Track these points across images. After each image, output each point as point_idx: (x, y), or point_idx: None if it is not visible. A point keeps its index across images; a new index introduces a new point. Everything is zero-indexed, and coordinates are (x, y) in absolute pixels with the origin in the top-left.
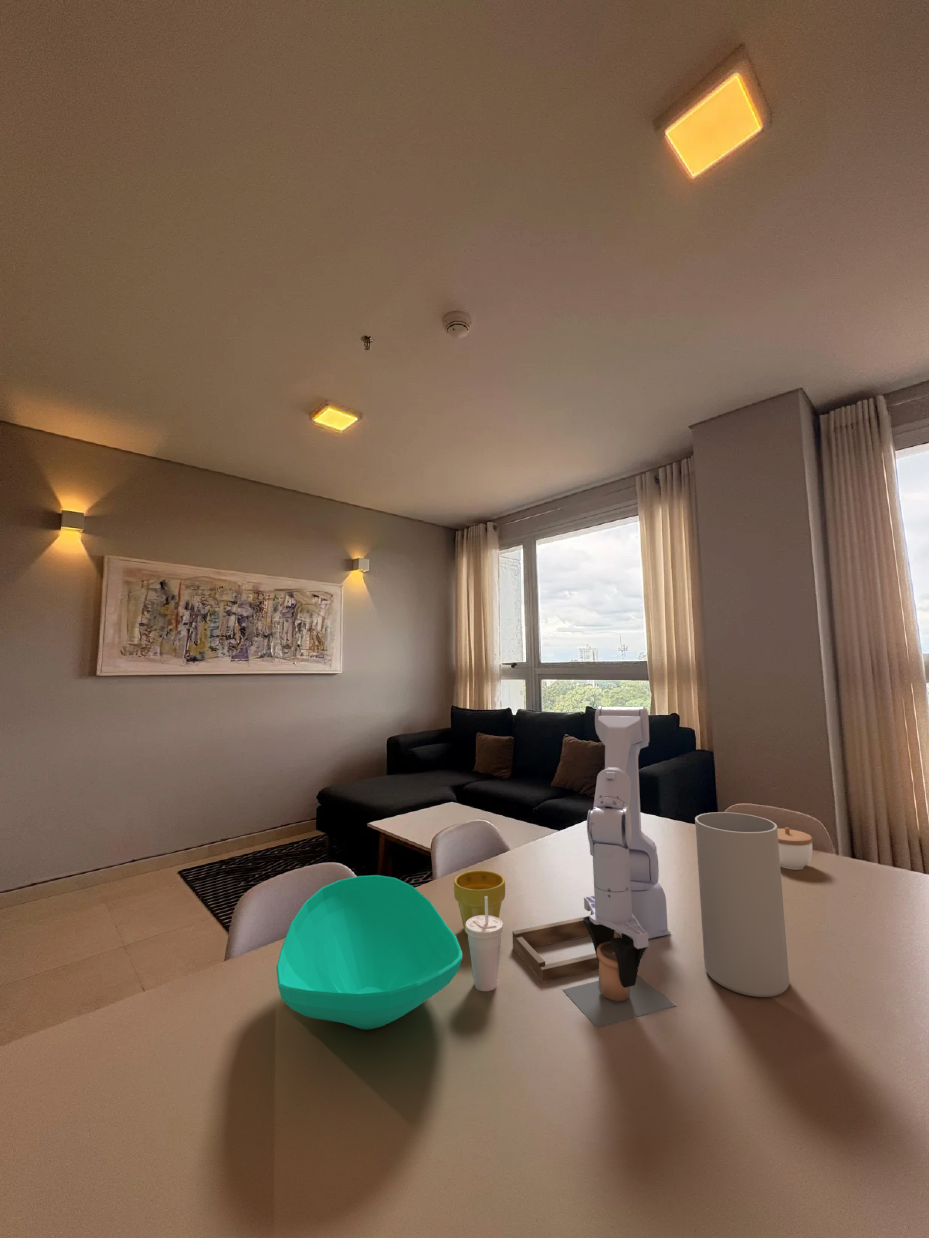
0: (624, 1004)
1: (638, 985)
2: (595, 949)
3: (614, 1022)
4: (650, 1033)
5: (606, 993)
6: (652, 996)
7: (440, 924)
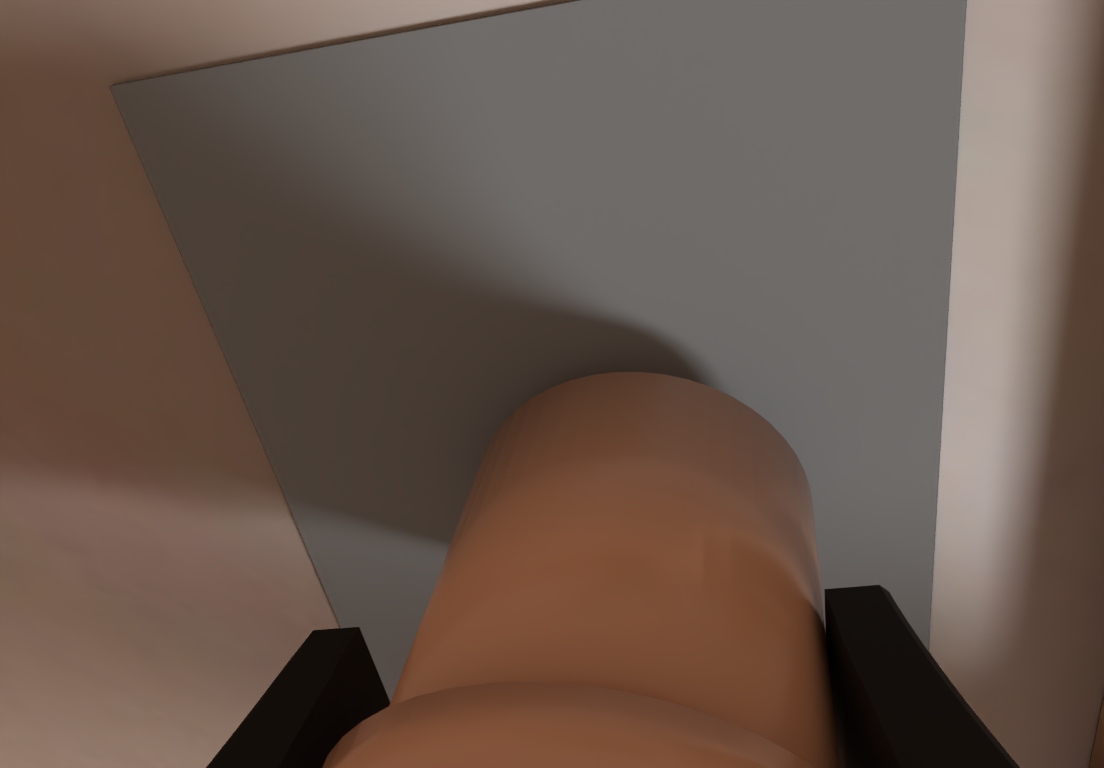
0: None
1: None
2: (968, 752)
3: (205, 302)
4: (76, 510)
5: (528, 420)
6: None
7: None
